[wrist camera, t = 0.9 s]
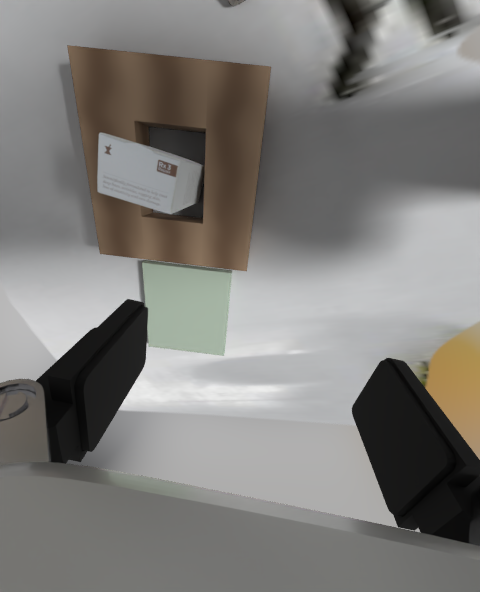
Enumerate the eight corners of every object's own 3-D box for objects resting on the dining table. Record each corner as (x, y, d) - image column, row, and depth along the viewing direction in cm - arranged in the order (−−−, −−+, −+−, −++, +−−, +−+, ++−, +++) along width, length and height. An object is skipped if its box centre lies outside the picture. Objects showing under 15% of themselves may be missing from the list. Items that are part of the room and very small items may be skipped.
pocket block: (269, 80, 25) (271, 66, 22) (247, 261, 33) (246, 271, 30) (91, 61, 25) (67, 45, 22) (114, 246, 34) (100, 253, 30)
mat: (231, 270, 34) (231, 273, 33) (224, 351, 40) (223, 355, 39) (145, 260, 34) (141, 262, 33) (151, 342, 40) (148, 346, 40)
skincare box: (152, 187, 30) (91, 196, 19) (157, 145, 28) (93, 129, 17) (201, 203, 30) (169, 220, 20) (210, 163, 28) (180, 158, 18)
